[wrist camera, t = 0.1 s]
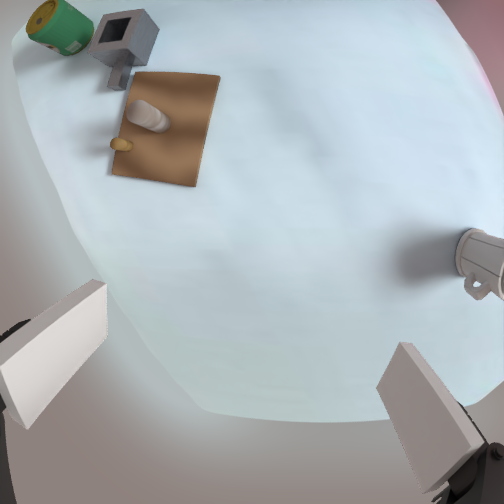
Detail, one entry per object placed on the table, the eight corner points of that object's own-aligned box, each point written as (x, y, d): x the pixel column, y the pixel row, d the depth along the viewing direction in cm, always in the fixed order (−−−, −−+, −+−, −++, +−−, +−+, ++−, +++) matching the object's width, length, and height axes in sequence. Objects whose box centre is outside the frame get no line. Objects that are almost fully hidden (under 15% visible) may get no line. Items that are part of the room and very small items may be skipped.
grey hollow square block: (122, 32, 31) (103, 14, 24) (159, 29, 31) (143, 8, 24) (102, 90, 33) (77, 79, 27) (138, 90, 34) (117, 76, 27)
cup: (474, 288, 39) (513, 314, 27) (443, 280, 39) (485, 308, 27) (490, 235, 36) (534, 250, 25) (461, 220, 36) (509, 235, 24)
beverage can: (56, 47, 31) (18, 29, 19) (85, 16, 29) (51, -9, 18) (72, 63, 32) (30, 43, 20) (103, 29, 30) (67, 1, 19)
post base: (138, 73, 33) (110, 52, 24) (220, 78, 33) (208, 51, 24) (114, 174, 37) (80, 174, 28) (195, 186, 37) (175, 188, 28)
